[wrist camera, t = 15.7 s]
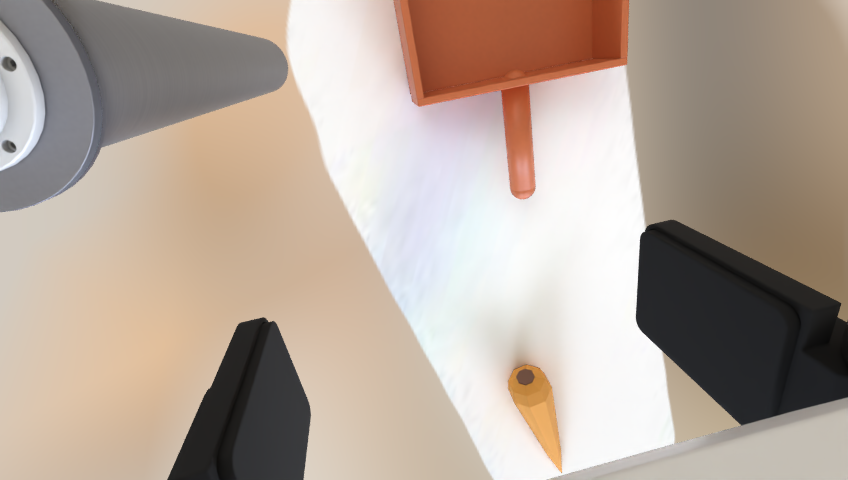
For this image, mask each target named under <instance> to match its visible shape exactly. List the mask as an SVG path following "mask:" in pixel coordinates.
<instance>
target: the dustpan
mask: <svg viewBox="0 0 848 480" xmlns="http://www.w3.org/2000/svg"><path fill="white" fill-rule="evenodd" d="M394 6H395V11H396V17H397V22H398V28H399V33H400V39H401V44H402V50H403V55H404V61H405V66H406V72H407V78H408V83H409V89H410V94H411V97H412V101H413V102H414V103H415V104H416V105H417V106H418V107H420V106H425V105H430V104H435V103H440V102H445V101H450V100H455V99H460V98H465V97H470V96H474V95H479V94H484V93H489V92H494V91H499V90H501V93H502V104H503V115H504V126H505V136H506V147H507V158H508V169H509V180H510V189H511V192H512V194H513V195H514V196H515V197H516V198H518V199H526V198H529V197H530V196H531V195H532V194H533V193H534V191H535V173H534V157H533V142H532V126H531V111H530V95H529V84H534V83H539V82H544V81H549V80H554V79H559V78H563V77H568V76H573V75H578V74H583V73H588V72H593V71H598V70H603V69H608V68H613V67H618V66H623V65H627V51H628V16H629V0H394ZM592 58H593V59H592ZM587 59H588V60H587ZM582 60H583V61H582ZM577 61H578V62H577ZM572 62H573V63H572ZM567 63H568V64H567ZM562 64H563V65H562ZM557 65H558V66H557ZM552 66H553V67H552ZM547 67H548V68H547ZM542 68H543V69H542ZM537 69H538V70H537ZM532 70H533V71H532ZM527 71H528V72H527ZM428 91H429V92H428ZM423 92H424V93H423Z"/></svg>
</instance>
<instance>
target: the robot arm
mask: <svg viewBox="0 0 848 480" xmlns="http://www.w3.org/2000/svg"><path fill="white" fill-rule="evenodd" d="M44 119H45V102H44V94H43V90H42V87H41V83H40V80H39V76H38V74H37V72H36V70H35V68H34V66H33V64H32V62H31V60H30V58H29V56H28V54H27V53H26V51H25V50H24V48H23V47H22V46H21V44H20V43H19V41H18V40H17V38H16V37H15V36H14V35H13V34H12V32H11V31H10V30H9V29H8V28H7V27H6V26H5V25H4V24H3V23H2V21H1V20H0V171H2V170H4V169H6V168H9V167H11V166H13V165H16V164H17V163H18V162H20V161H21V160H22V159H24V158H25V157H26V156H28V154H29V153H30V152H31V151H32V149H33V148H34V147H35V145H36V144H37V142H38V140H39V138H40V135H41V133H42V130H43V126H44ZM840 306H841V303H840V302H838V301H836V300H834V299H832V298H830V297H828V296H826V295H824V294H822V293H820V292H818V291H816V290H814V289H812V288H810V287H808V286H806V285H803V284H802V283H800V282H798V281H796V280H794V279H792V278H790V277H788V276H786V275H784V274H782V273H780V272H778V271H776V270H774V269H771V268H769V267H768V266H766V265H764V264H762V263H760V262H758V261H756V260H753V259H752V258H750V257H748V256H746V255H744V254H742V253H740V252H737V251H736V250H733V249H732V248H730V247H727V246H726V245H724V244H722V243H720V242H718V241H715V240H714V239H712V238H710V237H708V236H706V235H704V234H701V233H699V232H697V231H695V230H694V229H691V228H689V227H688V226H685V225H684V224H681V223H680V222H677V221H675V220H668V221H664V222H660V223H655V224H651V225H649V226H648V227H647V228H646V230H645V232H643V233H642V234H641V237H640V251H639V270H638V288H637V307H636V321H637V324H638V327H639V328H640V330H641V331H642V332H643V333H644V334H645V335H646V336H647V337H648V338H649V339H650V340H651V341H652V342H653V343H654V344H656V345H657V346H658V347H659V348H660V349H661V350H662V351H663V352H664V353H665V354H666V355H667V356H668V357H669V358H670V359H672V360H673V361H674V362H675V363H676V364H677V365H678V366H679V367H680V368H681V369H682V370H683V371H684V372H685V373H686V374H687V375H688V376H690V377H691V378H692V379H693V380H694V381H695V382H696V383H697V384H698V385H699V386H700V387H701V388H702V389H703V390H704V391H706V392H707V393H708V394H709V395H710V396H711V397H712V398H713V399H714V400H715V401H716V402H717V403H718V404H719V405H721V406H722V407H723V408H724V409H725V410H726V411H727V412H728V413H729V414H730V415H731V416H732V417H733V418H734V419H735V420H736V421H737V422H738V423H739V424H741V425H742V426H738V427H734V428H731V429H727V430H723V431H720V432H717V433H712V434H709V435H705V436H702V437H698V438H695V439H691V440H687V441H684V442H680V443H676V444H672V445H669V446H665V447H662V448H658V449H654V450H651V451H647V452H644V453H640V454H637V455H633V456H629V457H626V458H622V459H619V460H615V461H612V462H608V463H604V464H601V465H597V466H594V467H590V468H587V469H583V470H580V471H576V472H573V473H569V474H565V475H562V476H558V477H555V478H551V479H548V480H848V322H845V321H843V320H842V319H839V318H838V317H837V316H838V313H839V309H840ZM310 417H311V413H310V405H309V402H308V399H307V397H306V394H305V392H304V389H303V387H302V385H301V382H300V380H299V377H298V375H297V372H296V370H295V367H294V365H293V363H292V360H291V358H290V355H289V353H288V350H287V348H286V345H285V343H284V341H283V338H282V336H281V333H280V331H279V328H278V326H277V324H276V323H275V322H274V321H272V322H268V320H266V318H259V319H254V320H250V321H246V322H242V323H240V324H238V326H237V328H236V330H235V332H234V335H233V337H232V340H231V342H230V344H229V346H228V349H227V351H226V353H225V356H224V358H223V360H222V363H221V365H220V367H219V370H218V372H217V374H216V377H215V379H214V381H213V384H212V386H211V388H210V389H208V390H207V392H206V394H205V395H204V398H203V400H202V402H201V405H200V407H199V409H198V411H197V414H196V416H195V418H194V420H193V423H192V425H191V427H190V430H189V432H188V434H187V436H186V439H185V441H184V443H183V445H182V448H181V450H180V453H179V454H178V457H177V459H176V461H175V464H174V466H173V468H172V470H171V473H170V475H169V477H168V479H167V480H303V478H304V469H305V461H306V452H307V443H308V435H309V426H310Z"/></svg>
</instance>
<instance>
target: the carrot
mask: <svg viewBox="0 0 848 480" xmlns="http://www.w3.org/2000/svg"><path fill="white" fill-rule="evenodd" d="M508 389H509V392H510V394H511V396H512V399H513V401H514V403H515V405H516V406H517V408H518V409H519V411H520V412H521V414H522V416H523V417H524V419H525V420H526V422H527V423H528V425H529V427H530V428H531V430H532V431H533V433H534V434H535V436H536V438H537V439H538V441H539V442H540V444H541V446H542V447H543V449H544V450H545V452H546V453H547V455H548V456H549V458H550V459H551V460H552V461H553V463H554V464H555V465H556V467H557V468H558V469H559V470H560V472H561V473H562V466H561V448H560V441H559V434H558V427H557V420H556V413H555V406H554V399H553V392H552V387H551V385H550V383H549V381H548V379H547V378H546V376H545V374H544V373H543V372H542V371H541V369H540V368H537V367H533V366H530V365H524V366H522V367H520V368H517V369H515V370H514V371H513V373H512V375H511V377H510V379H509V381H508Z"/></svg>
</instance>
